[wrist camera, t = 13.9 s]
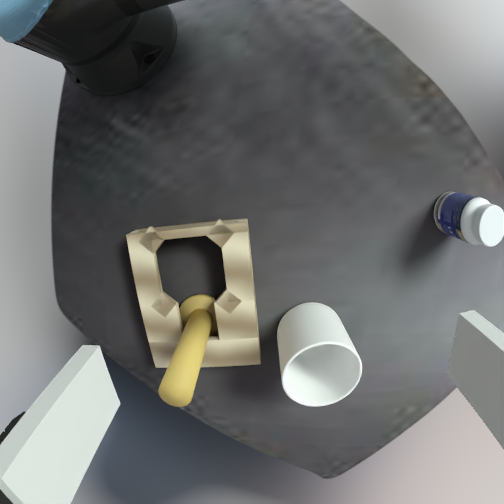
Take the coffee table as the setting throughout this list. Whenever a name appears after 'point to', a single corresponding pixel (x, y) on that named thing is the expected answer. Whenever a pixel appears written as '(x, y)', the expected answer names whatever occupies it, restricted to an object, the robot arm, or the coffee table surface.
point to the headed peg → (189, 349)
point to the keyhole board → (226, 305)
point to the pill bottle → (469, 218)
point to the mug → (316, 356)
